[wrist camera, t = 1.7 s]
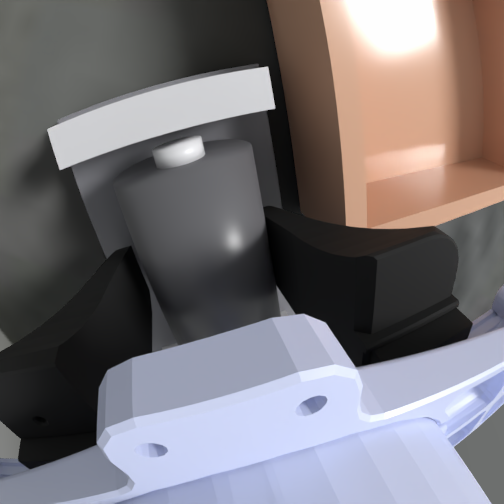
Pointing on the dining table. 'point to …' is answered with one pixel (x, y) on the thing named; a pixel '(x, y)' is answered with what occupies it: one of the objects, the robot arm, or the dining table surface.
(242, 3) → the dining table surface
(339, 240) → the robot arm
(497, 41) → the bin
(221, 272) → the cell
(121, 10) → the dining table surface
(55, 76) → the dining table surface
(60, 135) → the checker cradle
